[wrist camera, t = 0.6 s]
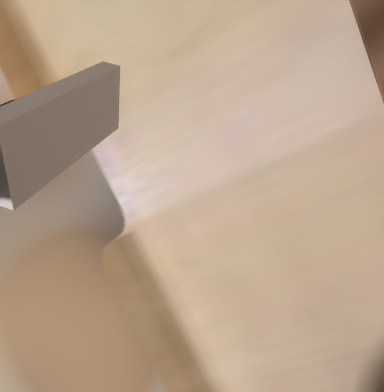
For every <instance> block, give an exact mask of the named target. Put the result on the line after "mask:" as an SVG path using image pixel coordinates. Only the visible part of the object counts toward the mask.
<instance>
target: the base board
mask: <svg viewBox="0 0 384 392" xmlns="http://www.w3.org/2000/svg"><path fill="white" fill-rule="evenodd" d="M349 1H350V4H351V7H352V10H353V13H354V16H355V19H356V22H357V25H358V28H359V31H360V34H361V37H362V40H363V43H364V45H365V48H366V51H367V54H368V57H369V60H370V63H371V66H372V69H373V72H374V75H375V78H376V81H377V84H378V87H379V90H380V93H381V96H382V99H383V102H384V0H349Z"/></svg>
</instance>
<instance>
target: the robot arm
mask: <svg viewBox="0 0 384 392" xmlns="http://www.w3.org/2000/svg"><path fill="white" fill-rule="evenodd" d="M119 87H120V66H118V65H115V64H111V63H107V62H101V63H98V64H96V65H94V66H92V67H89V68H87V69H85V70H83V71H80V72H78V73H76V74H73V75H71V76H69V77H67V78H64V79H62V80H60V81H57V82H55V83H53V84H51V85H48V86H46V87H44V88H42V89H39V90H37V91H35V92H32V93H30V94H28V95H26V96H23V97H21V98H19V99H15V100H11V101H9V102H6V103H4V104H2V105H0V206H2V207H5V208H8V209H11V210H15V209H16V208H17V207H19V206H20V205H21V204H22V203H24V202H25V201H26V200H28V199H29V198H30V197H31V196H33V195H34V194H35V193H36V192H38V191H39V190H40V189H41V188H43V187H44V186H45V185H47V184H48V183H49V182H50V181H52V180H53V179H54V178H55V177H57V176H58V175H59V174H61V173H62V172H63V171H64V170H66V169H67V168H68V167H69V166H71V165H72V164H73V163H74V162H76V161H77V160H78V159H80V158H81V157H82V156H83V155H84V154H86V153H87V152H88V151H90V150H91V149H92V148H93V147H95V146H96V145H97V144H99V143H100V142H101V141H102V140H104V139H105V138H106V137H107V136H109V135H110V134H111V133H112V132H114V131H115V130H116V129H118V121H119Z"/></svg>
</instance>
